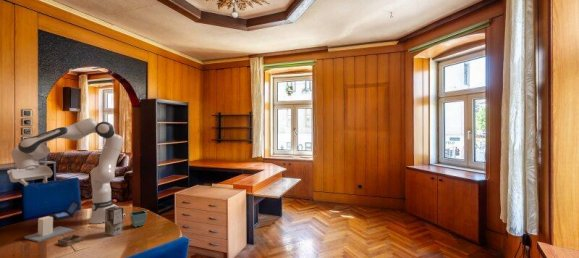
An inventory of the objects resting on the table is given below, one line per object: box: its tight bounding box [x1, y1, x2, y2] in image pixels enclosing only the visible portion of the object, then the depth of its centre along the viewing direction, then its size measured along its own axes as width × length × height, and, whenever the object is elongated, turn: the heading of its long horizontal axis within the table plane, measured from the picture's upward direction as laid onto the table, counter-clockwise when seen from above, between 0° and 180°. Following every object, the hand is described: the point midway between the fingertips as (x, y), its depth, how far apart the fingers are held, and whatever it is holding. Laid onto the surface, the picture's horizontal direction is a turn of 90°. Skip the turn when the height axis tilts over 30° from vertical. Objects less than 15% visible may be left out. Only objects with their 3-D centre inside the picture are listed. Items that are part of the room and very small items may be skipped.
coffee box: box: [104, 206, 124, 237], centre depth 166 cm, size 9×6×16 cm
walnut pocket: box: [57, 233, 84, 247], centre depth 152 cm, size 8×8×2 cm
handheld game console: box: [51, 200, 81, 221], centre depth 196 cm, size 16×13×9 cm
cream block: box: [37, 215, 54, 236], centre depth 160 cm, size 5×5×10 cm
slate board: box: [24, 225, 74, 243], centre depth 162 cm, size 18×14×1 cm
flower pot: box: [129, 209, 148, 228], centre depth 179 cm, size 9×9×9 cm
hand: (36, 183), depth 163 cm, fingers open, 8 cm apart
